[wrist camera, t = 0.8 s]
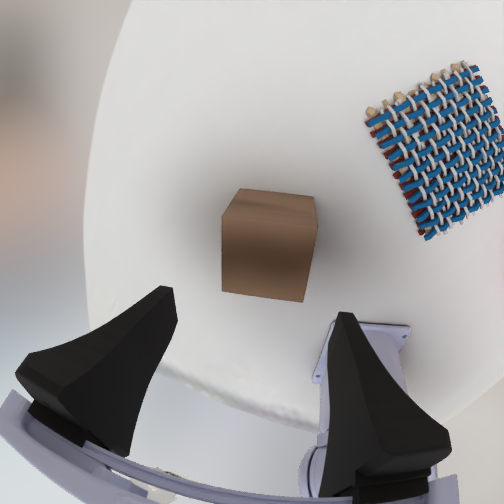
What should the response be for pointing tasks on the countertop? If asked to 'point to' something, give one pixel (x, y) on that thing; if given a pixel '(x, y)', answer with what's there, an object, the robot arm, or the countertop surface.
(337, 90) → the countertop surface
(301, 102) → the countertop surface
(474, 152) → the woven mat
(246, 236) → the walnut block
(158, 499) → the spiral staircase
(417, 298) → the countertop surface
